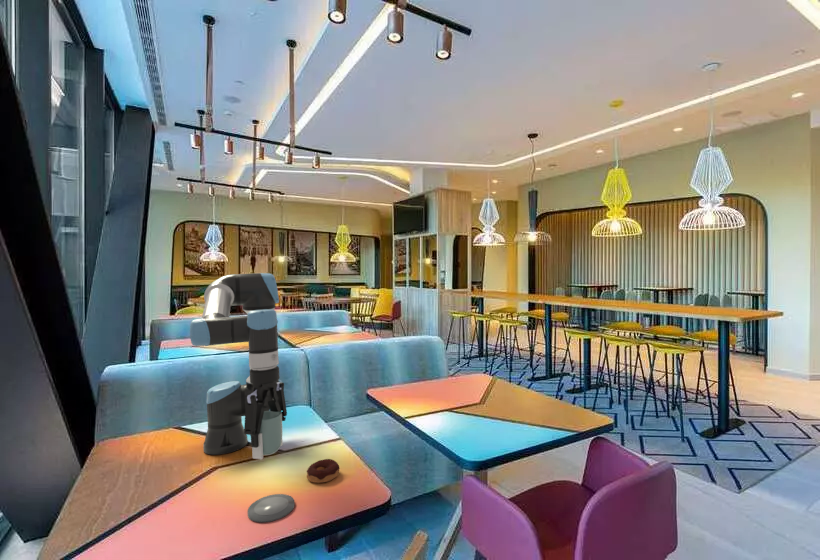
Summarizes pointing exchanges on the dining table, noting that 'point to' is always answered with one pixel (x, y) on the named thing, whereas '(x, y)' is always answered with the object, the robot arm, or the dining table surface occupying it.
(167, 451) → the dining table surface
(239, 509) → the dining table surface
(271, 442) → the cup
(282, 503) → the disc
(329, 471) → the donut
